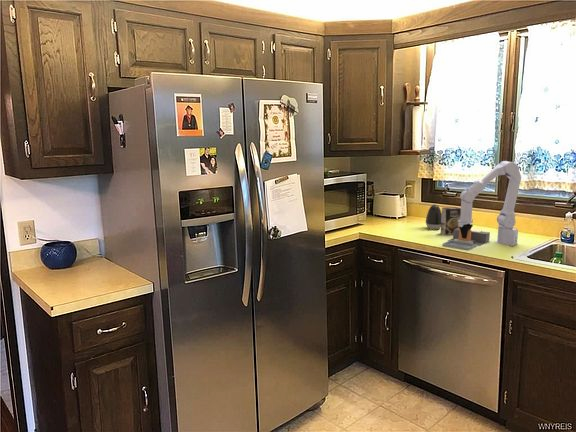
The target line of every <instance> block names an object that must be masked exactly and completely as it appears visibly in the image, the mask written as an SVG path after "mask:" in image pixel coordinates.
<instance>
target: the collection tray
mask: <svg viewBox="0 0 576 432" xmlns="http://www.w3.org/2000/svg"><path fill="white" fill-rule="evenodd" d="M449 240H450V239H449ZM442 247H447V248H451V249H453V248H454V249H457V250H463V251H470V250H472V249H474V248H476V247H478V246H477V244H472V243H466V242H459V241H453V240H450V241H448V240H447V241H446V242H443V243H442Z"/></svg>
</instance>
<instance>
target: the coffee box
mask: <svg viewBox="0 0 576 432" xmlns="http://www.w3.org/2000/svg"><path fill="white" fill-rule="evenodd" d="M441 213H442V216H441V227H440V234H441V235H443V236H454V229H456V228H459V227H458V223H459V222H458V220H460V215H461V207H460V208H459V207H456V206H455V207H454V206H452V207H451V206H450V207H449V206H448V207H442V208H441Z"/></svg>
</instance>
